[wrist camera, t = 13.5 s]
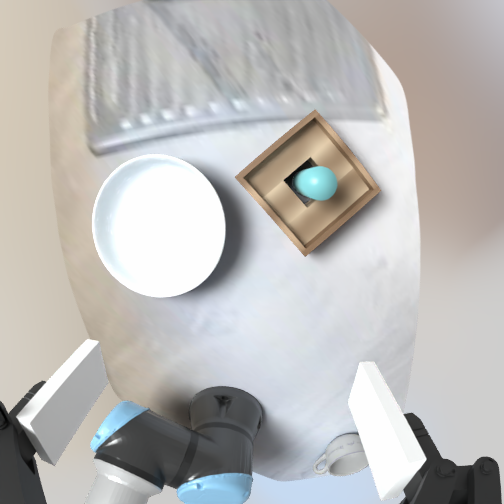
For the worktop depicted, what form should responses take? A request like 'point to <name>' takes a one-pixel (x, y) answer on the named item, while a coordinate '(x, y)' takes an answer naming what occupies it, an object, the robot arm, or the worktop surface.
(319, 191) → the peg
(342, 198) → the bore box
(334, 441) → the teacup
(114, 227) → the serving bowl
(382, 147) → the worktop surface
